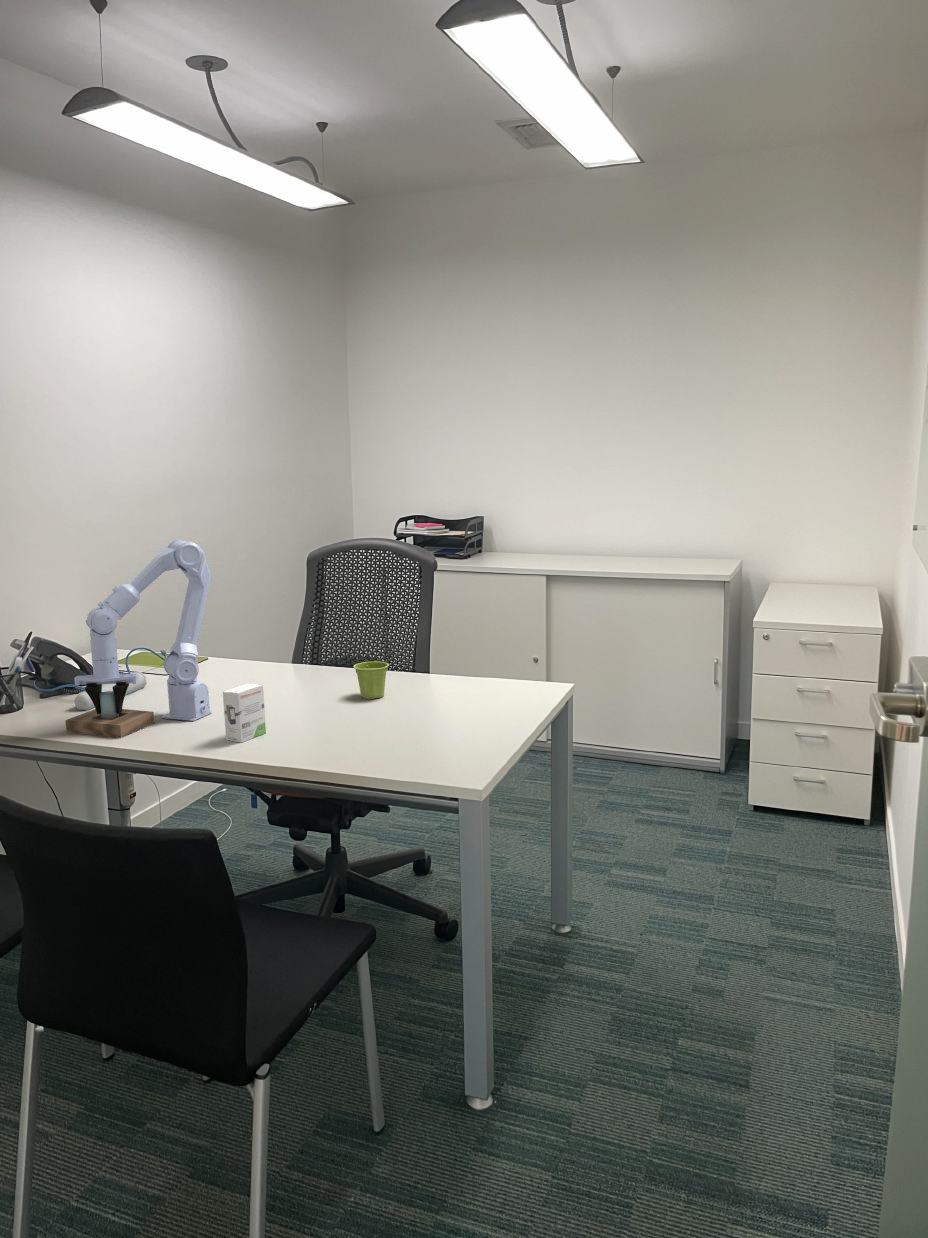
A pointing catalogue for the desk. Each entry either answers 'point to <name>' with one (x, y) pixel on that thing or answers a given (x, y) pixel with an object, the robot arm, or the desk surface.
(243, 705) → the ink box
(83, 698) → the tube
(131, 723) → the socket board
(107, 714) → the peg
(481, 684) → the desk surface
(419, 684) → the desk surface
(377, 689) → the plant pot
